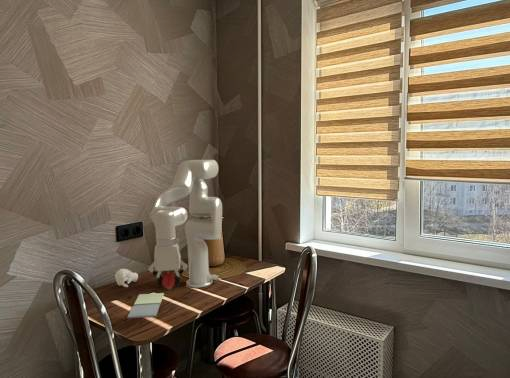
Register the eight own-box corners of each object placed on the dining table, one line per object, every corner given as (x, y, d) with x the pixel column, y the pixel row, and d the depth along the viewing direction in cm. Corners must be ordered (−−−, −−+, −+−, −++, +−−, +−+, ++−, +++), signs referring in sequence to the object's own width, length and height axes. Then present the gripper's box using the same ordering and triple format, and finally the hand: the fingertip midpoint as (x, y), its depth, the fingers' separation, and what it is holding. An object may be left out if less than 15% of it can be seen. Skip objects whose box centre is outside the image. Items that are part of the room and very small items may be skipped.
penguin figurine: (113, 269, 189) (132, 264, 200) (113, 286, 190) (132, 281, 200) (122, 271, 186) (141, 266, 197) (122, 289, 186) (141, 283, 197)
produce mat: (163, 294, 179) (163, 292, 179) (160, 303, 168) (160, 302, 168) (139, 295, 178) (139, 294, 178) (134, 305, 167) (134, 304, 167)
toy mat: (159, 305, 167) (159, 303, 167) (155, 316, 156) (155, 315, 156) (133, 306, 166) (133, 305, 166) (127, 318, 155) (127, 316, 155)
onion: (159, 291, 155) (157, 271, 154) (167, 285, 160) (166, 267, 159) (171, 293, 153) (170, 273, 152) (179, 287, 158) (178, 268, 157)
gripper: (189, 238, 158) (191, 281, 161) (145, 240, 157) (148, 283, 160) (187, 243, 151) (190, 288, 154) (142, 246, 150) (145, 291, 152)
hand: (169, 285), depth 157 cm, fingers closed on onion, 5 cm apart
